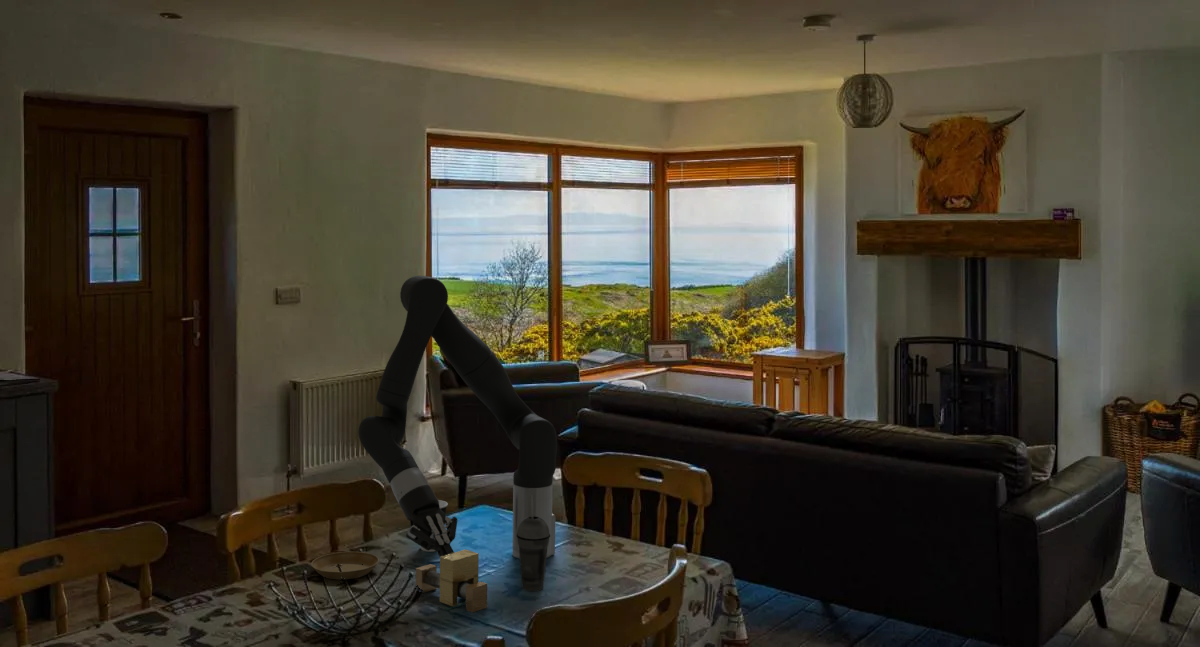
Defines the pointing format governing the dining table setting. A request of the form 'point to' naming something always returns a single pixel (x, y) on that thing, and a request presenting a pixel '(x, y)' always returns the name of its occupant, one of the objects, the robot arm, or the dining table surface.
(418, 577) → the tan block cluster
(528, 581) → the beverage cup
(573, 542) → the dining table surface
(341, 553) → the plant saucer
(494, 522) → the dining table surface
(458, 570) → the wooden block arch
